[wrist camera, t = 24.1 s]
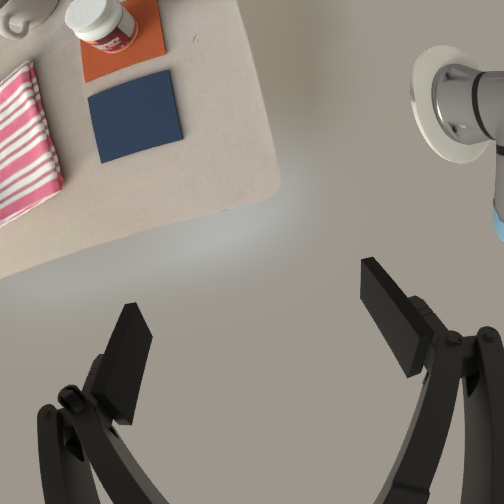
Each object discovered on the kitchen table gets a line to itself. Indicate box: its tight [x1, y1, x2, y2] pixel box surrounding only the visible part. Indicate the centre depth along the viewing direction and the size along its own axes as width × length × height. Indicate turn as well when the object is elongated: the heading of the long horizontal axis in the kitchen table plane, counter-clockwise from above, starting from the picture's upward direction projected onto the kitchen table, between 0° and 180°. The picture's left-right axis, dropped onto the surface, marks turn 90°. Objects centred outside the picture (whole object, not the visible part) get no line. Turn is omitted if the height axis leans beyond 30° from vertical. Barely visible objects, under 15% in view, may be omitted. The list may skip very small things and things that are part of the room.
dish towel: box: [0, 60, 65, 227], centre depth 30 cm, size 17×23×4 cm
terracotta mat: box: [80, 0, 166, 82], centre depth 28 cm, size 12×11×1 cm
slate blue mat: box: [88, 70, 183, 163], centre depth 33 cm, size 12×10×1 cm
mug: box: [0, 0, 58, 40], centre depth 18 cm, size 12×8×11 cm
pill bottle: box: [65, 0, 138, 53], centre depth 22 cm, size 6×6×11 cm
